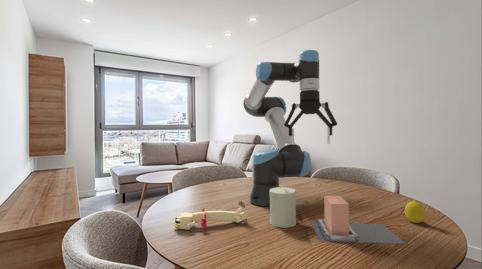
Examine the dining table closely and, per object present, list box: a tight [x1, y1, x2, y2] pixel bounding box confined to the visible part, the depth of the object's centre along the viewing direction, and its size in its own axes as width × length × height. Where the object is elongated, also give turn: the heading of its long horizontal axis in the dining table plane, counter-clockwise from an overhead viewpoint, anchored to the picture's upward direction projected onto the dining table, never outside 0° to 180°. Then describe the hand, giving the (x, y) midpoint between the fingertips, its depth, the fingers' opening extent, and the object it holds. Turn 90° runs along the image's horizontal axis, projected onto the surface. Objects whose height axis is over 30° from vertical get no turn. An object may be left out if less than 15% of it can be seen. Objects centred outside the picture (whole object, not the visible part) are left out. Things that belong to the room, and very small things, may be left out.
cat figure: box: [172, 200, 248, 231], centre depth 86 cm, size 10×9×25 cm
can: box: [269, 186, 297, 229], centre depth 86 cm, size 9×9×12 cm
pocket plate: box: [311, 218, 406, 245], centre depth 76 cm, size 23×14×2 cm, turn 84°
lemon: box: [404, 200, 426, 224], centre depth 82 cm, size 6×6×8 cm
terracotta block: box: [323, 195, 350, 235], centre depth 76 cm, size 9×5×10 cm, turn 174°
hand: (310, 144), depth 98 cm, fingers open, 13 cm apart
